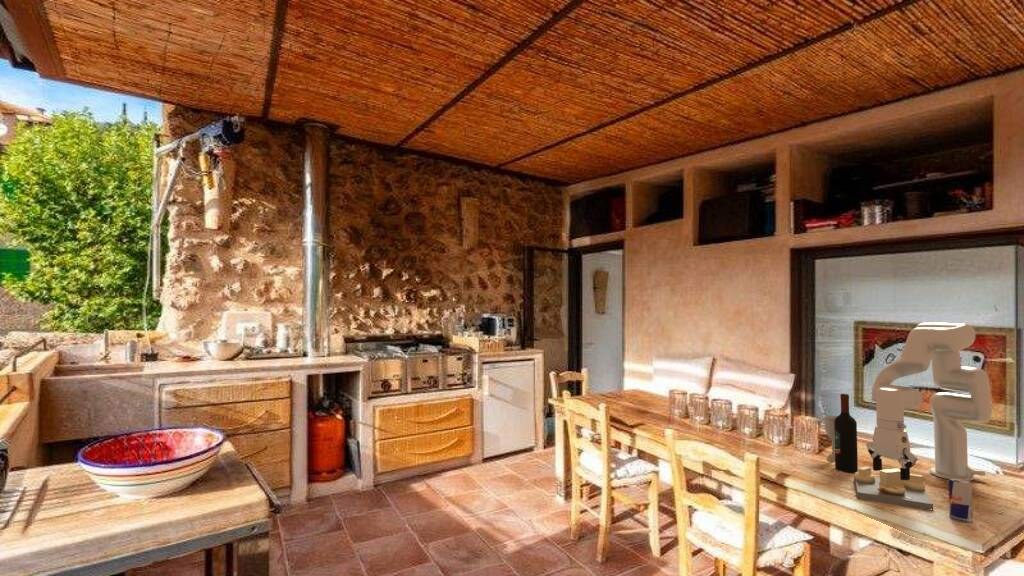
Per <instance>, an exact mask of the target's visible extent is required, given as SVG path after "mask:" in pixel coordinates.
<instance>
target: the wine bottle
mask: <svg viewBox="0 0 1024 576" xmlns="http://www.w3.org/2000/svg"><path fill="white" fill-rule="evenodd" d="M849 395H850V394H848V393H840V397H839V398H840V414H839V415H836V416H837V417H836V418H835V420H834V435H835V462H834V465H835V467H834V468H835V470H837V471H838V472H842V473H847V474H855V472H858V468H859V464H858V461H859V460H858V455H859V454H858V429H857V428H858V424H857V420H856V419H855V418H854V417H853V416H851V415H850V396H849Z"/></svg>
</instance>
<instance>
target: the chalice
mask: <svg viewBox="0 0 1024 576" xmlns="http://www.w3.org/2000/svg"><path fill="white" fill-rule="evenodd" d="M837 416H838V415H823V416H822V418H823V419H824V431H825V433H826V434H827V437H828V438H829V439H831V444H830V445H831V447H830V449H831V453H829V454H828V456H827V458H826V460H828V461H830V462H834V463H835V435H834V420H835V418H836V417H837Z"/></svg>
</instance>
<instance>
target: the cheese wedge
mask: <svg viewBox="0 0 1024 576" xmlns="http://www.w3.org/2000/svg"><path fill="white" fill-rule="evenodd" d="M879 478H880V483H879V488H878V491H882V492H885V493H888V494H893V495H904V494H905V487H904V486H903V480H901V479H900V468H890V469H888V468H887V469H882V470H879Z"/></svg>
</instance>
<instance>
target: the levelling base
mask: <svg viewBox="0 0 1024 576" xmlns="http://www.w3.org/2000/svg"><path fill="white" fill-rule="evenodd" d="M853 479H854V480H853V481H854V484H855V491H856V496H857V498H858V499H861V500H867V501H874V502H879V503H886V504H892V505H898V506H904V507H909V506H910V508H915V507H918V508H917V509H921V508H925V509H924V510H927V509H932V510H931V511H934V503H933V502H932V500H931V498H930V496H929V494H928V492H927V491H926V487H925V486H926V484H925V482H924V476H923V475H922V474H915V473H910V479H909V480H903V486H904V487H905V494H904V495H893V494H888V493H885V492H882V491H878V488H879V483H880V477H876V475H875V474H872V466H871V467H870V466H863V467H858V472H855V473H854V475H853Z"/></svg>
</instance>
